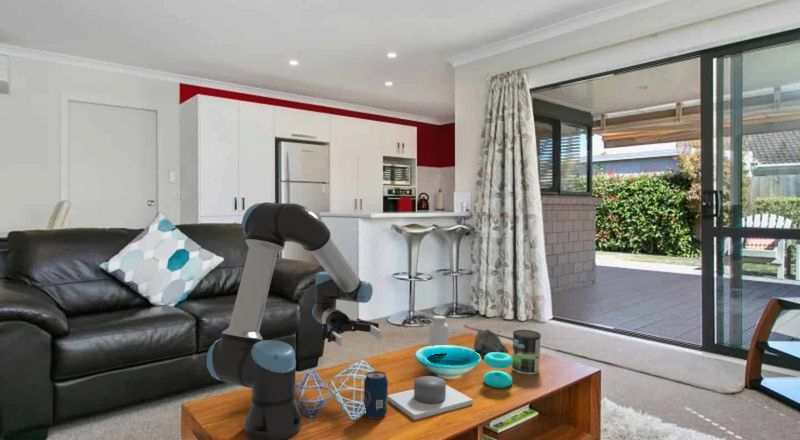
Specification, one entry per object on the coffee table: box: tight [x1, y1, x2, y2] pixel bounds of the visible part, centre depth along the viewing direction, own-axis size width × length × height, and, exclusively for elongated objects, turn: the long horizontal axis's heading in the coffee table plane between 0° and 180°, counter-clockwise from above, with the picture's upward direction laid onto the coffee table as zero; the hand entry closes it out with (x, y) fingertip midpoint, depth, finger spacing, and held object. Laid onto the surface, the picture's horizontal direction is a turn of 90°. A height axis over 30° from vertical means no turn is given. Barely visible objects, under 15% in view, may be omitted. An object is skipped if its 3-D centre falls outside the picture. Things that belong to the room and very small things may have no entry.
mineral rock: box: [473, 329, 510, 354], centre depth 203 cm, size 13×11×10 cm
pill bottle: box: [428, 315, 449, 347], centre depth 203 cm, size 8×8×15 cm
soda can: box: [363, 370, 389, 419], centre depth 144 cm, size 7×7×12 cm
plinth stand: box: [387, 375, 474, 421], centre depth 154 cm, size 22×16×6 cm
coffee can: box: [511, 329, 542, 375], centre depth 184 cm, size 10×10×14 cm
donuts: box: [483, 352, 513, 389], centre depth 170 cm, size 10×10×10 cm
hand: (360, 338), depth 152 cm, fingers open, 13 cm apart
